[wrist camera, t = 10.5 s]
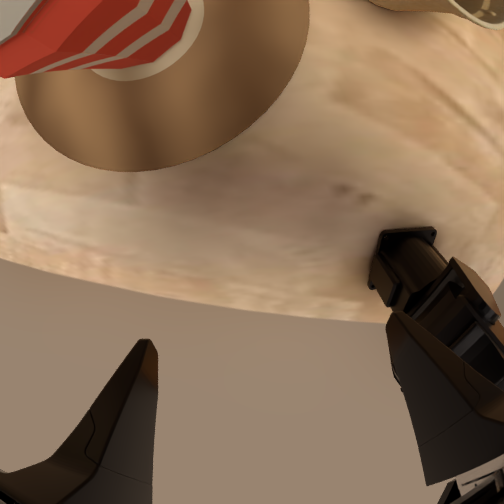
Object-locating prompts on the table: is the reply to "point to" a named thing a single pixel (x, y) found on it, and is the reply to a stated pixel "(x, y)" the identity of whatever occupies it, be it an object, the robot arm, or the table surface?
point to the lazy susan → (173, 89)
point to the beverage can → (86, 33)
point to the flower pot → (455, 9)
